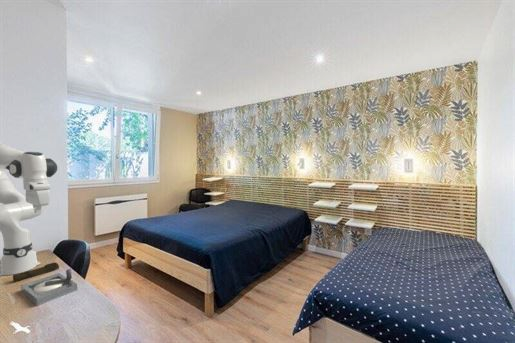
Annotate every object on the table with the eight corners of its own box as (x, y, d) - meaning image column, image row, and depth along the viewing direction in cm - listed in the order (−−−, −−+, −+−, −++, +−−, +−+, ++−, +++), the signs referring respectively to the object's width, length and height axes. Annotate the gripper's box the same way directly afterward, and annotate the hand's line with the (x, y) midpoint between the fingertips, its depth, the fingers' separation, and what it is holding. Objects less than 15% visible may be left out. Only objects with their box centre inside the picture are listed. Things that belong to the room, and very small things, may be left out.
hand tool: (13, 283, 126) (13, 274, 126) (12, 281, 129) (12, 272, 129) (60, 270, 141) (59, 262, 141) (58, 268, 143) (58, 260, 143)
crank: (39, 285, 121) (38, 270, 121) (75, 279, 127) (74, 265, 127) (29, 296, 111) (28, 280, 111) (68, 289, 117) (67, 274, 117)
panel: (21, 291, 118) (20, 285, 118) (60, 277, 131) (60, 272, 131) (37, 305, 106) (36, 298, 106) (78, 289, 120) (78, 283, 119)
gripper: (20, 184, 123) (22, 212, 124) (34, 186, 112) (36, 216, 112) (36, 183, 128) (38, 209, 129) (51, 185, 117) (53, 214, 118)
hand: (37, 213), depth 121 cm, fingers closed
